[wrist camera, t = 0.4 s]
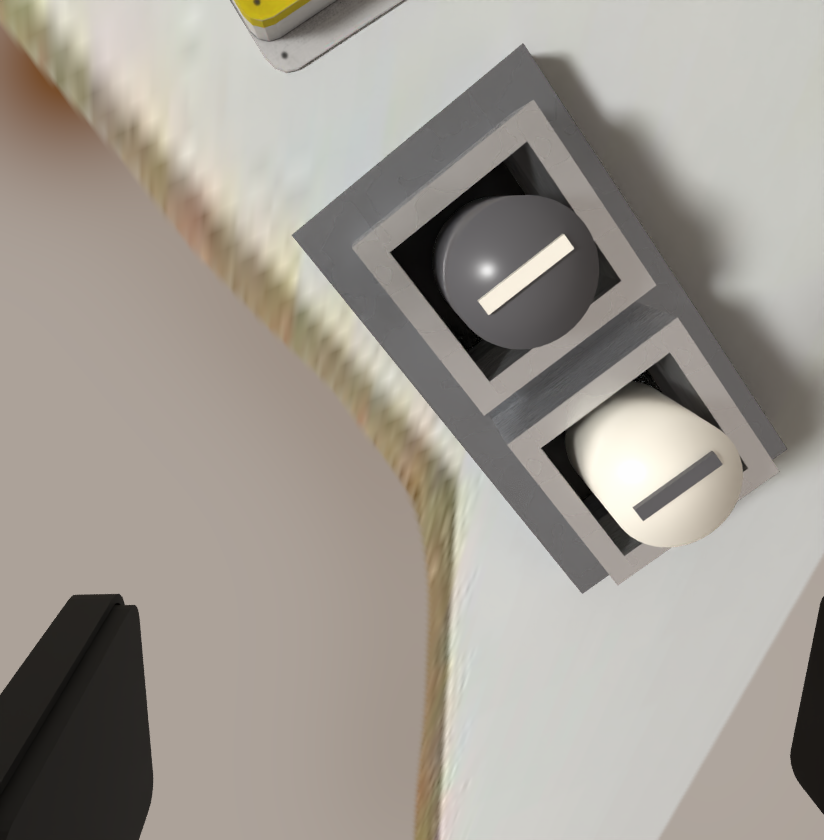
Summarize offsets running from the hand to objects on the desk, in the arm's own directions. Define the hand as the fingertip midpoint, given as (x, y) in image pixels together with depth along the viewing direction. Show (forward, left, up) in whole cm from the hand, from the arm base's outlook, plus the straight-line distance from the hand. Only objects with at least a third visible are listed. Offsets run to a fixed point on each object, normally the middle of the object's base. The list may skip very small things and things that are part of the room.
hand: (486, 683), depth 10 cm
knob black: (-6, -1, -23) cm, 23 cm away
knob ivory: (-6, +9, -23) cm, 25 cm away
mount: (-6, +4, -26) cm, 27 cm away
